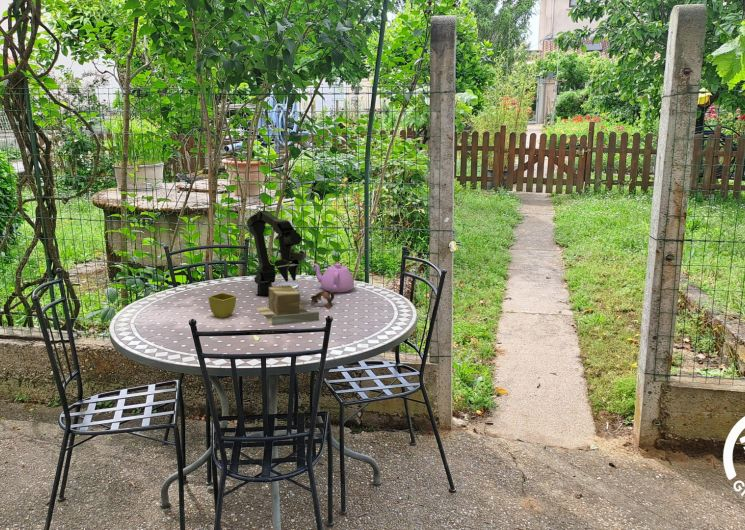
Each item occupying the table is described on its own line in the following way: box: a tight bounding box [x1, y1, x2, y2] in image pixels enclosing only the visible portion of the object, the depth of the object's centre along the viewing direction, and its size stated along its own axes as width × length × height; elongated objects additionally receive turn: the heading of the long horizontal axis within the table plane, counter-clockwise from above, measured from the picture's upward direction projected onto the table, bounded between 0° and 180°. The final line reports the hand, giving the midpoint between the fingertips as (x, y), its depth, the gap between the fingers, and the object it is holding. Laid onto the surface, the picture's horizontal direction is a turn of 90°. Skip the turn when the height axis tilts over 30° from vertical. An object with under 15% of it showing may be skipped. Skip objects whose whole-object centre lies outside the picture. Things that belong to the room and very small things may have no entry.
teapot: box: [312, 262, 355, 293], centre depth 337 cm, size 22×22×14 cm
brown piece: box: [310, 290, 335, 309], centre depth 310 cm, size 12×9×8 cm
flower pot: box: [208, 292, 237, 319], centre depth 287 cm, size 9×9×9 cm
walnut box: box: [268, 284, 301, 316], centre depth 295 cm, size 14×10×10 cm
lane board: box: [255, 304, 320, 326], centre depth 293 cm, size 26×21×4 cm
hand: (290, 281), depth 302 cm, fingers open, 9 cm apart
